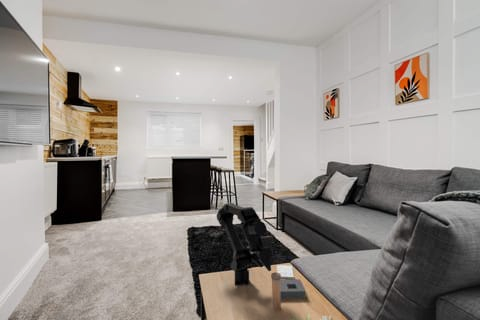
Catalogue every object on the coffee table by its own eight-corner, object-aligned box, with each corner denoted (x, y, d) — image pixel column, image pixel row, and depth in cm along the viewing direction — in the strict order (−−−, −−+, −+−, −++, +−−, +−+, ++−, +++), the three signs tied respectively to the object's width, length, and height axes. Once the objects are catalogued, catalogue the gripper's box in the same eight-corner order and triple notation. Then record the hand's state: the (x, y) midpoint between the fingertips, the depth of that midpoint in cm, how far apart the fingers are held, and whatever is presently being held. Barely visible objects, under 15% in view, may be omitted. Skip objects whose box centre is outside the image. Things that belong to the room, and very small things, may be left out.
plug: (271, 309, 94) (270, 276, 94) (273, 304, 97) (272, 271, 97) (280, 311, 92) (279, 277, 92) (282, 305, 96) (281, 273, 96)
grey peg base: (277, 298, 101) (276, 291, 101) (274, 286, 111) (273, 279, 111) (305, 298, 101) (305, 291, 101) (300, 285, 111) (300, 279, 111)
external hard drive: (292, 268, 129) (294, 280, 117) (276, 268, 130) (277, 279, 118) (292, 265, 129) (294, 276, 117) (276, 265, 130) (277, 276, 118)
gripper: (275, 228, 102) (290, 263, 101) (258, 227, 120) (271, 257, 118) (253, 240, 98) (268, 276, 97) (239, 237, 115) (252, 268, 114)
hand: (265, 268), depth 106 cm, fingers open, 9 cm apart
